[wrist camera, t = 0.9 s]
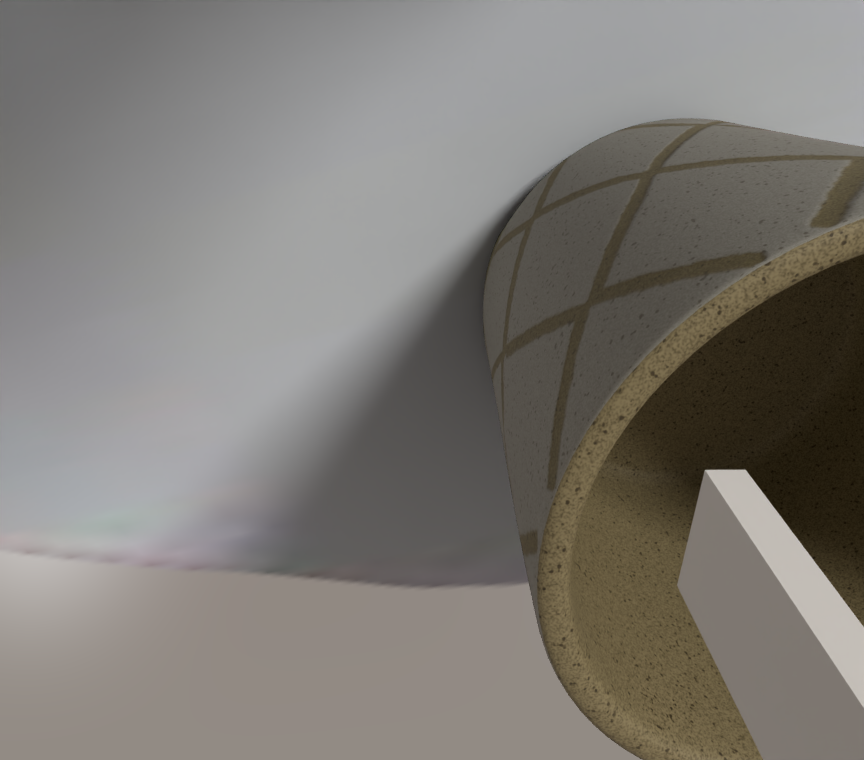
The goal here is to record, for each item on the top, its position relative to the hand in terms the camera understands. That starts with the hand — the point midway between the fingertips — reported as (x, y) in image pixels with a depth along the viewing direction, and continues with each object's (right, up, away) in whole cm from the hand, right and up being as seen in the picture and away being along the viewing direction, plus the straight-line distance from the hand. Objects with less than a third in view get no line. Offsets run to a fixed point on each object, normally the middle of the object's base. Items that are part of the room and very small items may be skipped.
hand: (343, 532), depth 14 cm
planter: (+12, +7, +24) cm, 28 cm away
